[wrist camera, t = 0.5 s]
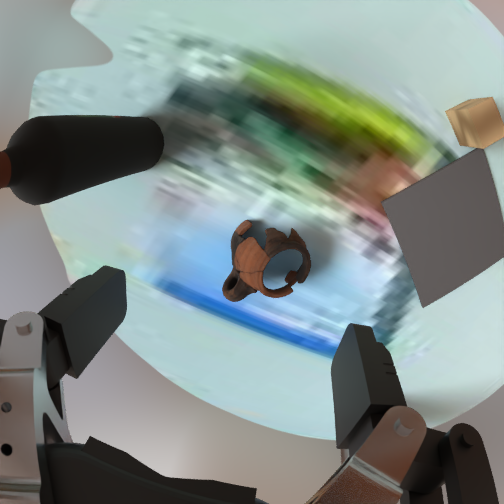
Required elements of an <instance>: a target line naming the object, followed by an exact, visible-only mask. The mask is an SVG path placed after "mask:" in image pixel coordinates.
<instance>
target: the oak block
mask: <svg viewBox="0 0 504 504" xmlns="http://www.w3.org/2000/svg"><path fill="white" fill-rule="evenodd" d="M445 112H446V114H447V116H448V119H449V121H450V123H451V125H452V128H453V130H454V132H455V135H456V137H457V139H458V142H459V144H460V145H461V146H468V147H475V148H481V149H484V148H486V147H488V146H489V145H491V144H493V143H494V142H496V141H498V140H500V139H501V138H503V137H504V124H503V121H502V119H501V116H500V113H499V111H498V108H497V106H496V104H495V101H494V99H493V97H487V98H478V99H470V100H467V101H465V102H463V103H461V104H459V105H457V106H455V107H453V108H451V109H449V110H447V111H445Z"/></svg>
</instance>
